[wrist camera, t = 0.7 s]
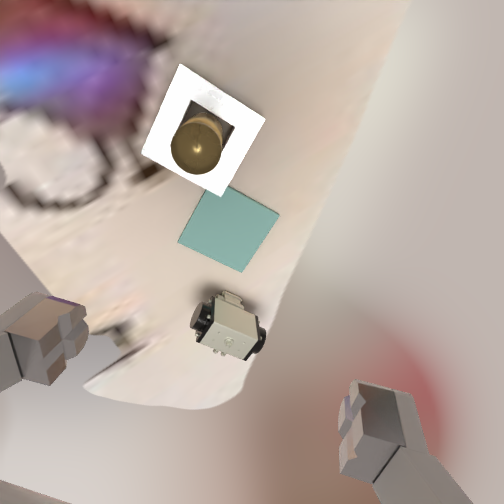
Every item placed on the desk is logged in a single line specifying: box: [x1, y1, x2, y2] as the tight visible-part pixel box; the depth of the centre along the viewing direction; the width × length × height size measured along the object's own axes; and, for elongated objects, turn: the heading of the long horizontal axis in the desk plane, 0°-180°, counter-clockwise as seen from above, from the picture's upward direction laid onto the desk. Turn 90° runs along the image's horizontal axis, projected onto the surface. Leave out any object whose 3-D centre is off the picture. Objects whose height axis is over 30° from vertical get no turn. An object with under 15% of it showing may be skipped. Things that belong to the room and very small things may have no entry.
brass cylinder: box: [171, 113, 223, 175], centre depth 39 cm, size 5×5×14 cm
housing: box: [141, 64, 265, 197], centre depth 44 cm, size 12×12×4 cm
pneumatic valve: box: [190, 291, 266, 361], centre depth 54 cm, size 6×12×12 cm, turn 59°
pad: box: [178, 186, 279, 273], centre depth 52 cm, size 12×12×1 cm
